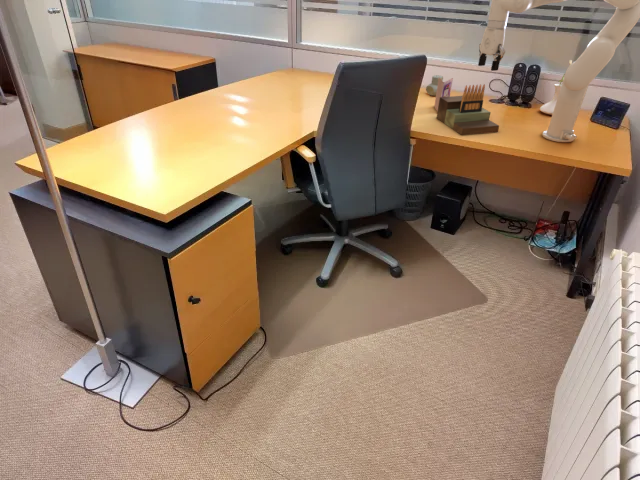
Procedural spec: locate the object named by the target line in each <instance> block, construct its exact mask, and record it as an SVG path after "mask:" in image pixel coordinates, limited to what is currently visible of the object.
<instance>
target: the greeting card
mask: <svg viewBox="0 0 640 480" xmlns="http://www.w3.org/2000/svg"><path fill="white" fill-rule="evenodd" d="M453 80H454V78H453V77H452V78H450V79H448V80H445V81H444V80H443V81H442V80H441V78H440V77H439V80H438V86H437V93H436V96H435V99H434V106H433V107H434V109H435V110H436V112H438V106H439V100H440V97H450V96H451V92H452V86H453Z"/></svg>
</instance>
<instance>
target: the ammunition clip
mask: <svg viewBox="0 0 640 480" xmlns="http://www.w3.org/2000/svg"><path fill="white" fill-rule="evenodd" d="M485 89H486V85H485V83H483V85H482V84H479V85H478V84H476V85H475V84H473V85H471V84H469V85H468V84H466V85H465V87H464V89H463V93H462V96H463V97H462V101H461V104H460V108H459V112H460V113H467V112H480V111H482V108H483V106H484V105H483V104H484V96H485V91H486V90H485Z"/></svg>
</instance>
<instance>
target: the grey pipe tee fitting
mask: <svg viewBox="0 0 640 480" xmlns="http://www.w3.org/2000/svg"><path fill="white" fill-rule="evenodd" d="M439 77H440V78H441V80H442V81H443V82H444V76H443V75H438V74H436V75H435V74H434V75H432V77H431V83H429V84H427V86H426V87H425V92H426V93H427V94H428V95H429V96H431V97H436V93H437V86H438V80H439Z"/></svg>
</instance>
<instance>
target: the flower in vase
mask: <svg viewBox="0 0 640 480" xmlns="http://www.w3.org/2000/svg"><path fill="white" fill-rule="evenodd" d="M568 61H569V62H568V63H569V66H570V65H571V64H572V63H573V60H572V59H570V60H568ZM564 75H565V73H563V75H562V77H561V79H560V80H558V82H559V83H554V94H553V98H552V99H551V100H550V101H548V102H546V103H544V104H543V105H541V106H540V108H539V110H540V112H542V113H544V114H546V115H551V116H552V114H553V111H554V108H555V105H556V102H557V99H558V96H559V93H560V89H561V86H562V83H563V80H564Z"/></svg>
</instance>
